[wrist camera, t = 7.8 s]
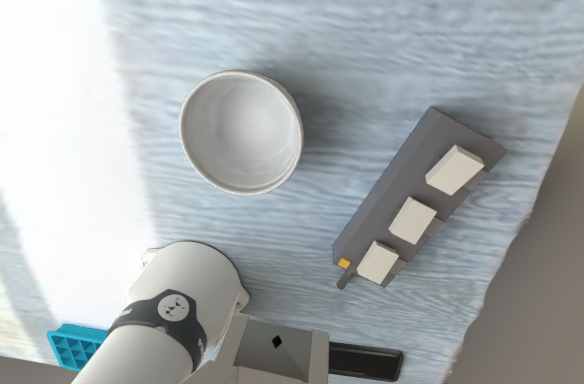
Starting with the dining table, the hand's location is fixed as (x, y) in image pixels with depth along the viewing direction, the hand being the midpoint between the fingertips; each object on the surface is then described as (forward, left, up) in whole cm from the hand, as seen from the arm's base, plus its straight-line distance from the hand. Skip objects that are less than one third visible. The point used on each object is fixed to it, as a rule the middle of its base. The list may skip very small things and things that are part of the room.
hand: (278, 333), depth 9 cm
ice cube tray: (-62, +17, -30) cm, 71 cm away
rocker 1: (-11, -14, -24) cm, 30 cm away
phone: (-35, -26, -30) cm, 53 cm away
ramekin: (-4, +7, -29) cm, 30 cm away
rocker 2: (-4, -14, -24) cm, 28 cm away
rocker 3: (+3, -14, -24) cm, 28 cm away
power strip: (-6, -14, -29) cm, 33 cm away
